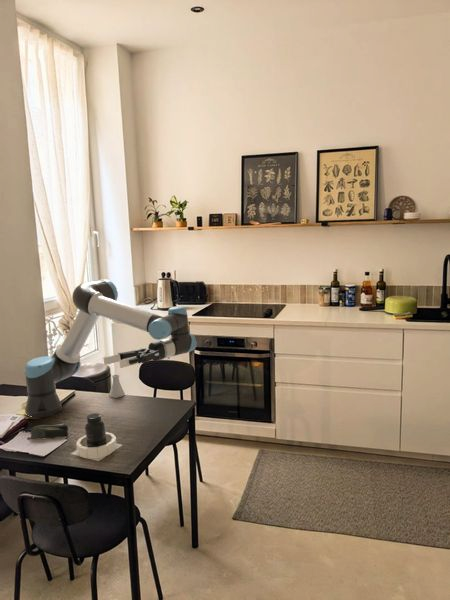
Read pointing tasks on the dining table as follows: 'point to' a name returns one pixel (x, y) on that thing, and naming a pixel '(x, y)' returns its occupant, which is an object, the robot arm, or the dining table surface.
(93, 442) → the supplement bottle
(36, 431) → the mobile phone
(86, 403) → the dining table surface
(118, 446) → the mat
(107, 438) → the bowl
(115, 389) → the flask
